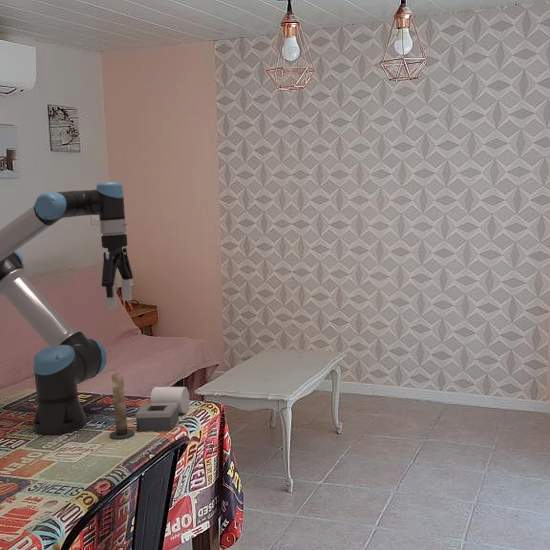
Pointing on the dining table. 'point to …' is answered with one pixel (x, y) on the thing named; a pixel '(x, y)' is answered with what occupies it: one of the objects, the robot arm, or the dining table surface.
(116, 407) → the brown upright bar
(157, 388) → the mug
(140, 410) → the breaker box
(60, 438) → the dining table surface
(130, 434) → the coaster
